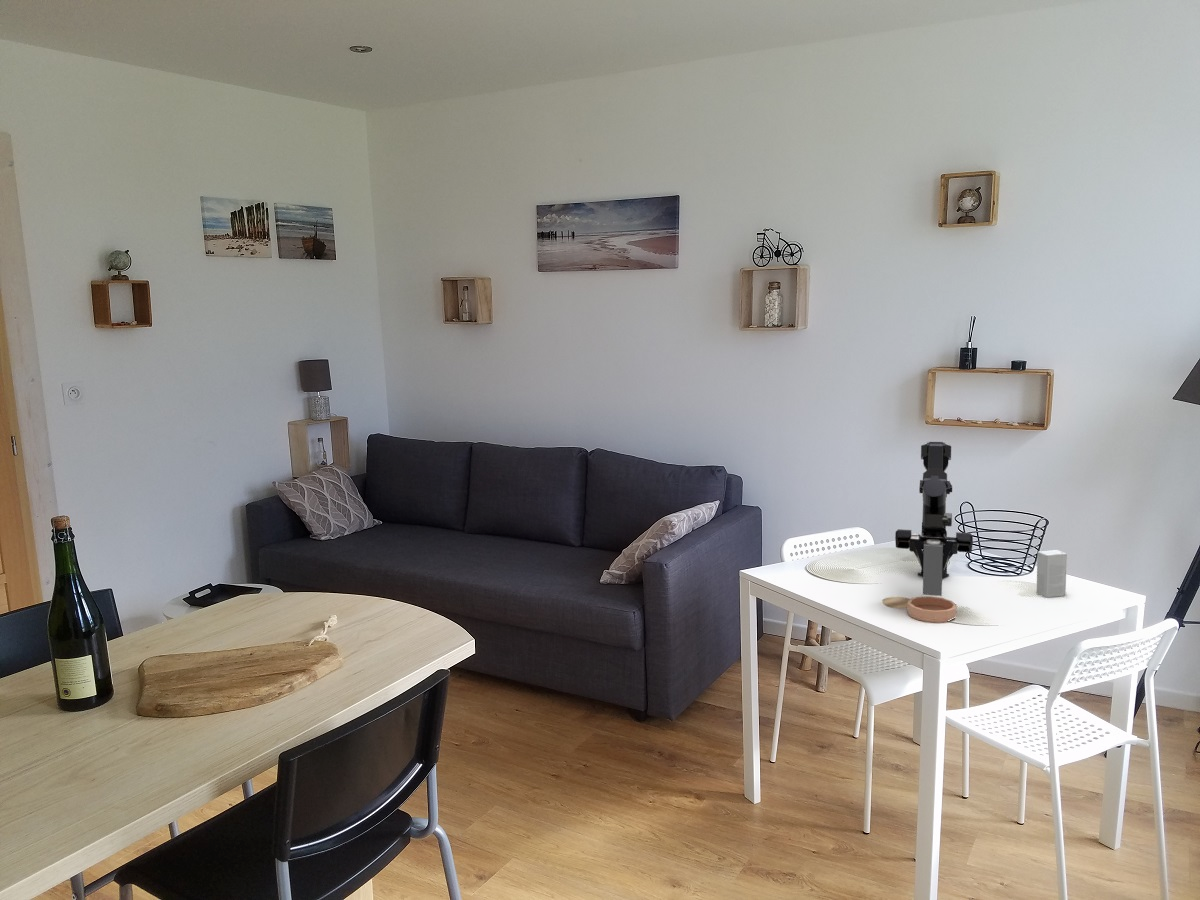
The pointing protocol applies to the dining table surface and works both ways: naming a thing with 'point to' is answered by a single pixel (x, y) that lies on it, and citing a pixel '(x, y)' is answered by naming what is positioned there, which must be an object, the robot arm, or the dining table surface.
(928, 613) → the ring dish
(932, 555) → the canister
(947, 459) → the robot arm
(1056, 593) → the skincare box
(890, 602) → the cork coaster
